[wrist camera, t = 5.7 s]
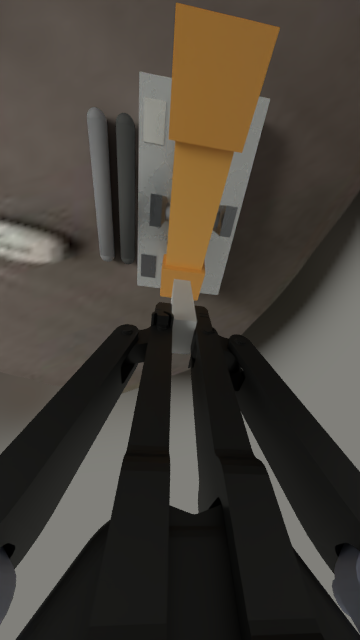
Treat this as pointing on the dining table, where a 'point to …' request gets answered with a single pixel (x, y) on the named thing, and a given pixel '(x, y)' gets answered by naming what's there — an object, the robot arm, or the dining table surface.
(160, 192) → the grey bracketed base
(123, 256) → the cord
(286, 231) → the dining table surface
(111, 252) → the grey rod
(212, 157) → the lever
